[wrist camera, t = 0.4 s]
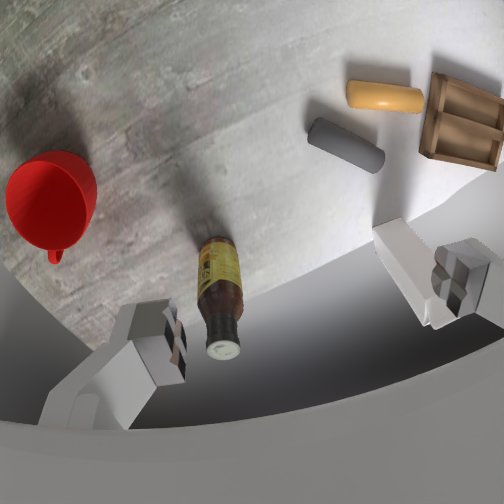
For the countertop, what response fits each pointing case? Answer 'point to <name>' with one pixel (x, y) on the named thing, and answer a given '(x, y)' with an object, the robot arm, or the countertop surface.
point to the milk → (411, 270)
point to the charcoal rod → (346, 145)
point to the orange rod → (384, 97)
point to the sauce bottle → (220, 296)
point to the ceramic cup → (52, 201)
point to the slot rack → (462, 124)
